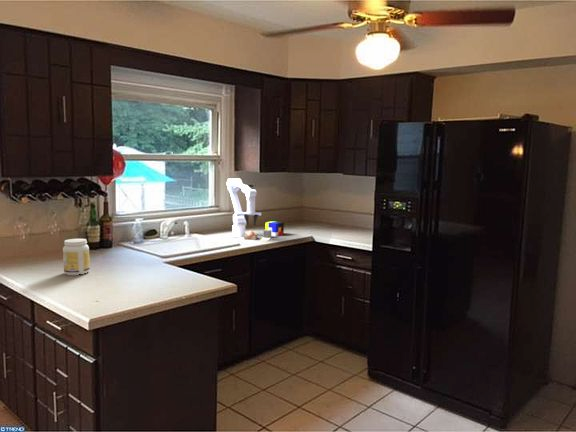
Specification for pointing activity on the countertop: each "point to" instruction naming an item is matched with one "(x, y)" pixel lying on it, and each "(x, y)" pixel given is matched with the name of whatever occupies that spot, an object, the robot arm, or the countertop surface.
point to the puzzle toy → (275, 227)
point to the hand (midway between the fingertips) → (251, 225)
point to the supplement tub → (76, 257)
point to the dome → (251, 233)
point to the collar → (251, 237)
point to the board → (264, 238)
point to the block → (267, 234)
